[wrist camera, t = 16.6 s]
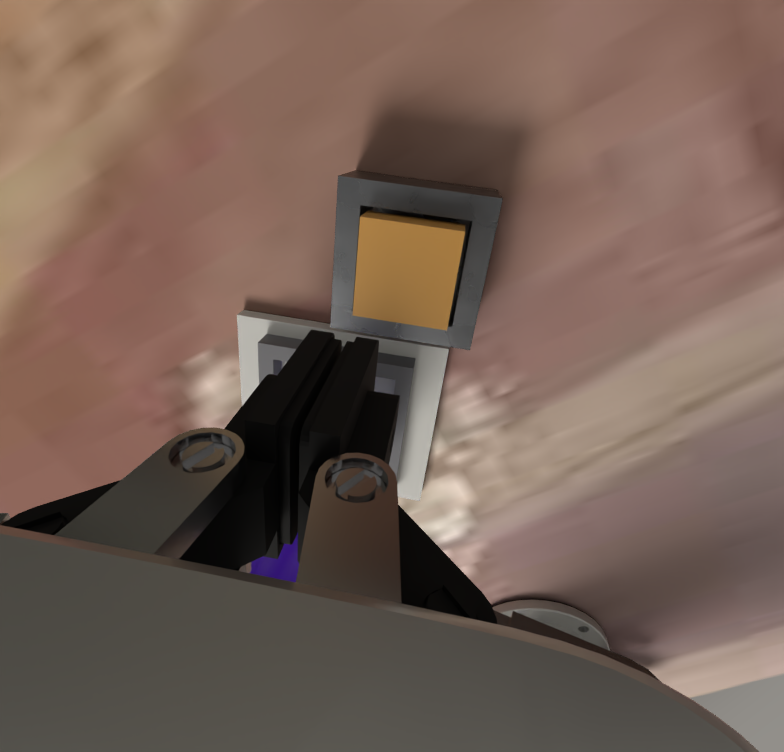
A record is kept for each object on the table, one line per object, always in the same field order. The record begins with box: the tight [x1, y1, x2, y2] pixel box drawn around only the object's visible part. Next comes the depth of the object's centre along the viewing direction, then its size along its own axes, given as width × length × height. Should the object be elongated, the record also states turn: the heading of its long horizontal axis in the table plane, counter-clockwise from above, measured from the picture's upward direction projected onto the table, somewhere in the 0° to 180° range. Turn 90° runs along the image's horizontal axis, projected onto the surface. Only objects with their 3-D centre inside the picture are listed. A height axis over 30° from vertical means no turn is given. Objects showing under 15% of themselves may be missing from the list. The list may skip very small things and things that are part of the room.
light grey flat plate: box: [237, 310, 449, 501], centre depth 32 cm, size 14×13×2 cm
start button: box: [353, 211, 465, 330], centre depth 23 cm, size 5×5×2 cm
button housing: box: [330, 170, 503, 350], centre depth 25 cm, size 8×8×4 cm
